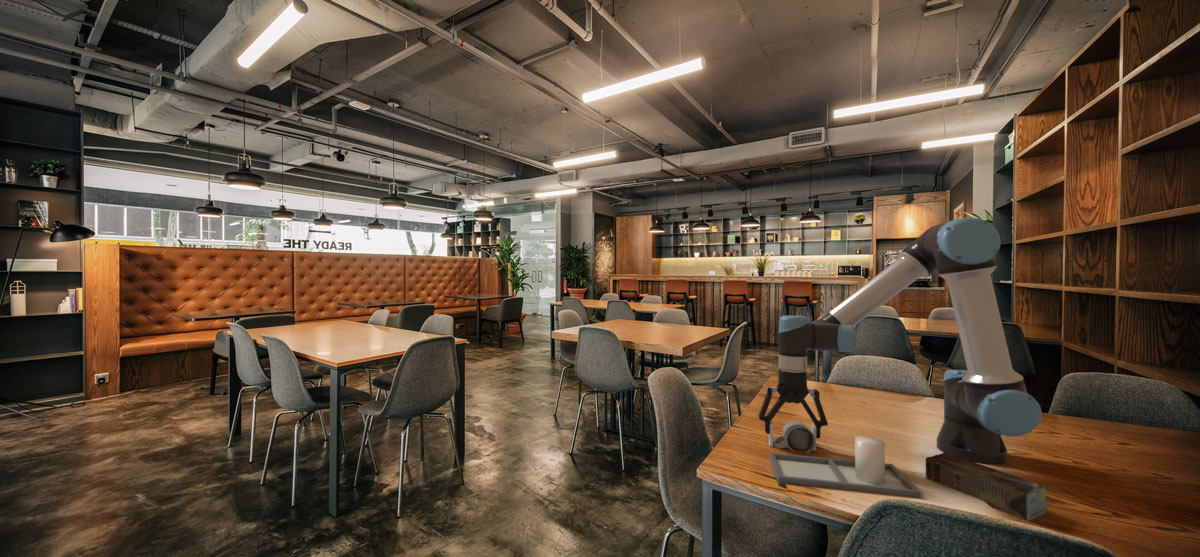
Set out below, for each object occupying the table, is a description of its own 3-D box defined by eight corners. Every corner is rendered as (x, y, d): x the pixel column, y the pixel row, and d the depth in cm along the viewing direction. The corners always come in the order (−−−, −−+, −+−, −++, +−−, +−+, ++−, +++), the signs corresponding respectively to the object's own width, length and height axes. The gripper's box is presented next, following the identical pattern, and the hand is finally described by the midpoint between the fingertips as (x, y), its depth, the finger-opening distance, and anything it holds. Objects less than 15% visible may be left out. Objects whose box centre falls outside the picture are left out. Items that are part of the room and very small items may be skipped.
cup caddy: (892, 472, 108) (892, 464, 108) (920, 501, 94) (920, 492, 94) (769, 459, 115) (769, 452, 115) (778, 485, 101) (778, 477, 101)
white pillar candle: (879, 474, 105) (878, 437, 105) (889, 485, 99) (888, 446, 99) (851, 471, 106) (851, 435, 106) (860, 482, 101) (859, 444, 101)
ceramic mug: (807, 444, 126) (807, 418, 126) (816, 455, 118) (815, 427, 118) (769, 442, 128) (769, 416, 128) (775, 453, 120) (774, 425, 120)
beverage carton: (1028, 523, 86) (1027, 490, 86) (923, 482, 103) (922, 454, 103) (1048, 515, 89) (1047, 482, 89) (943, 476, 106) (942, 449, 106)
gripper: (833, 369, 124) (832, 446, 124) (748, 365, 129) (748, 438, 129) (841, 375, 116) (840, 456, 116) (751, 369, 122) (750, 447, 122)
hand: (791, 447), depth 123 cm, fingers closed on ceramic mug, 11 cm apart
